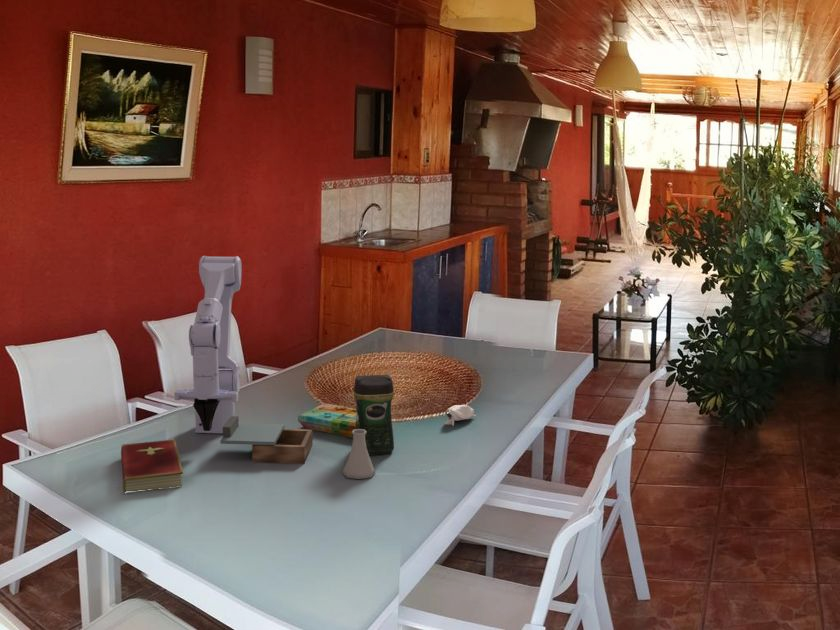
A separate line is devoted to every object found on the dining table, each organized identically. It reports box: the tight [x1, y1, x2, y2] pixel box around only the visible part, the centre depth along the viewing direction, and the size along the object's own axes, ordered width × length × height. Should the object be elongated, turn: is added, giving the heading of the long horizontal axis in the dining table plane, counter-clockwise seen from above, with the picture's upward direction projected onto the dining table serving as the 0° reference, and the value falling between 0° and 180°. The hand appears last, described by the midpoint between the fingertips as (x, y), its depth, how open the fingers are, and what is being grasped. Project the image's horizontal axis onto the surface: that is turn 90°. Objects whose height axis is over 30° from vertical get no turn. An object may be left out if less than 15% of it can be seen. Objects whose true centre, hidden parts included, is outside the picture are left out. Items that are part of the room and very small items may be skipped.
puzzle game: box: [297, 402, 356, 438], centre depth 220 cm, size 12×5×20 cm
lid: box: [220, 415, 285, 446], centre depth 201 cm, size 12×12×3 cm
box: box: [251, 428, 313, 465], centre depth 202 cm, size 12×12×4 cm
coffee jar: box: [353, 374, 395, 456], centre depth 204 cm, size 10×8×19 cm
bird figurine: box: [444, 404, 477, 427], centre depth 228 cm, size 5×7×10 cm
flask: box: [342, 429, 376, 480], centre depth 190 cm, size 7×7×10 cm
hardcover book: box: [120, 438, 184, 492], centre depth 189 cm, size 12×21×4 cm, turn 20°
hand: (207, 429), depth 202 cm, fingers closed
